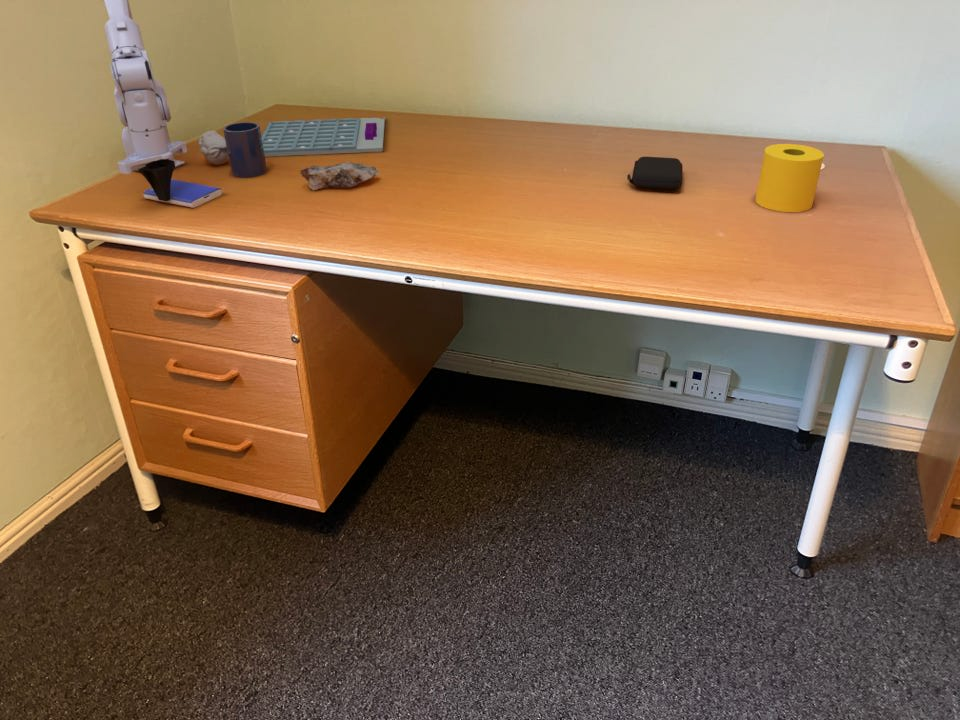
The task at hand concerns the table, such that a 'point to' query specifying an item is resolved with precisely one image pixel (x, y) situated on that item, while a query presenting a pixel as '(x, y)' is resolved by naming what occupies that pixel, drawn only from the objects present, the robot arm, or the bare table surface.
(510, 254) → the table surface
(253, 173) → the pen cup
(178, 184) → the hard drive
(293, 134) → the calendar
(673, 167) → the carrying case
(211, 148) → the grey rounded lump
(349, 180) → the mineral rock
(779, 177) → the yellow toilet paper roll
